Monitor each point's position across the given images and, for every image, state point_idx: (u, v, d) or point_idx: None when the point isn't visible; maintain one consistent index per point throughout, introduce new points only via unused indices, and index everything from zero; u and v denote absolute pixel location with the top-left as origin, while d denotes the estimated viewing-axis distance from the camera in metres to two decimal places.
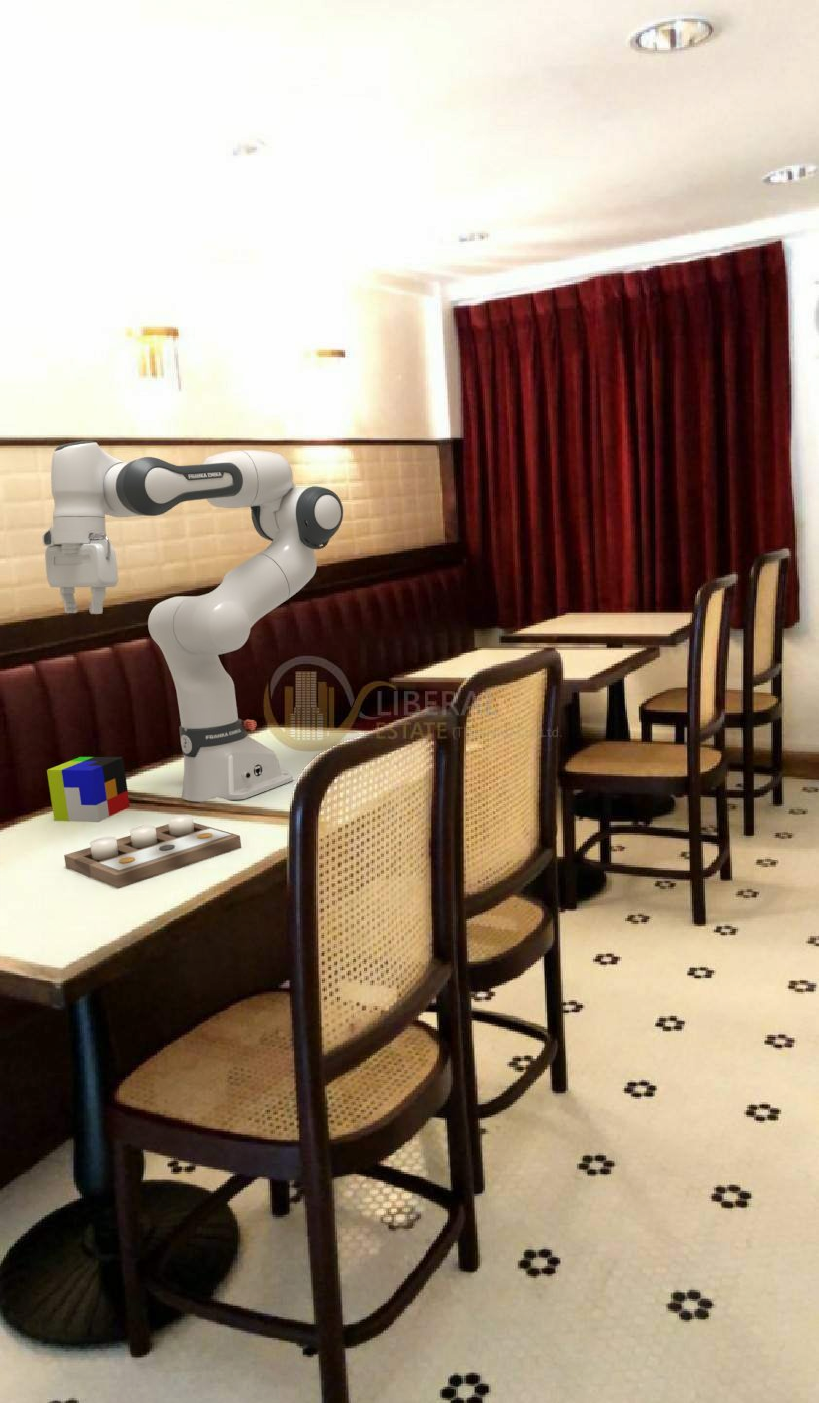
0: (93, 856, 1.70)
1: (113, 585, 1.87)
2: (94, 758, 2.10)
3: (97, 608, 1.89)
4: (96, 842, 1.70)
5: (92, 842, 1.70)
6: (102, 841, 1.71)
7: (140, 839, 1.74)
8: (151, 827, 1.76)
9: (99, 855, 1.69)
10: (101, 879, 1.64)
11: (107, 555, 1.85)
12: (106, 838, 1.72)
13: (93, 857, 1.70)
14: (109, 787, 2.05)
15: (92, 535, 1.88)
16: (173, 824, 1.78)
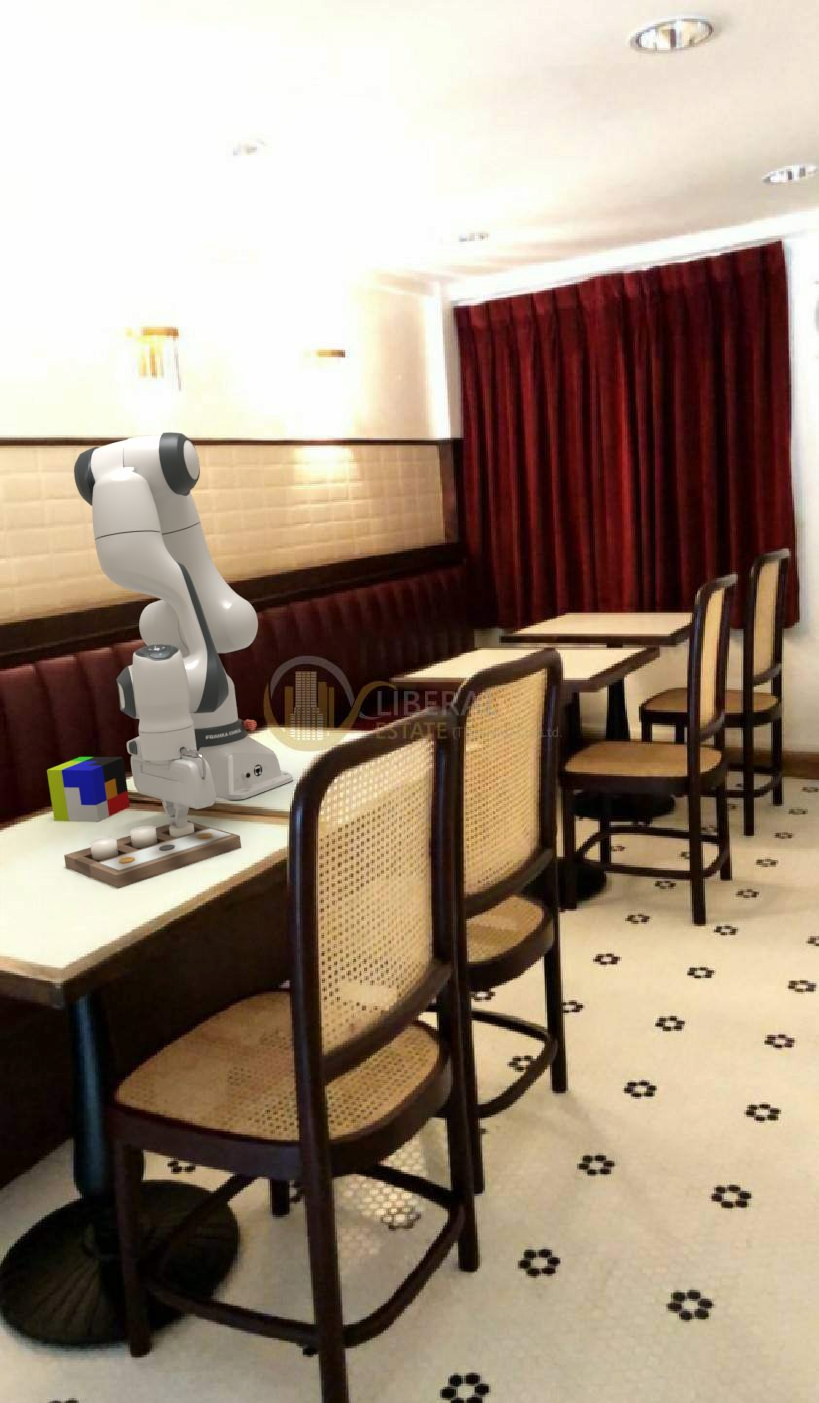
0: (93, 856, 1.70)
1: (211, 804, 1.73)
2: (94, 758, 2.10)
3: (181, 822, 1.79)
4: (96, 842, 1.70)
5: (92, 842, 1.70)
6: (102, 841, 1.71)
7: (140, 839, 1.74)
8: (151, 827, 1.76)
9: (99, 855, 1.69)
10: (101, 879, 1.64)
11: (203, 775, 1.71)
12: (106, 838, 1.72)
13: (93, 857, 1.70)
14: (109, 787, 2.05)
15: (184, 751, 1.73)
16: (175, 832, 1.79)
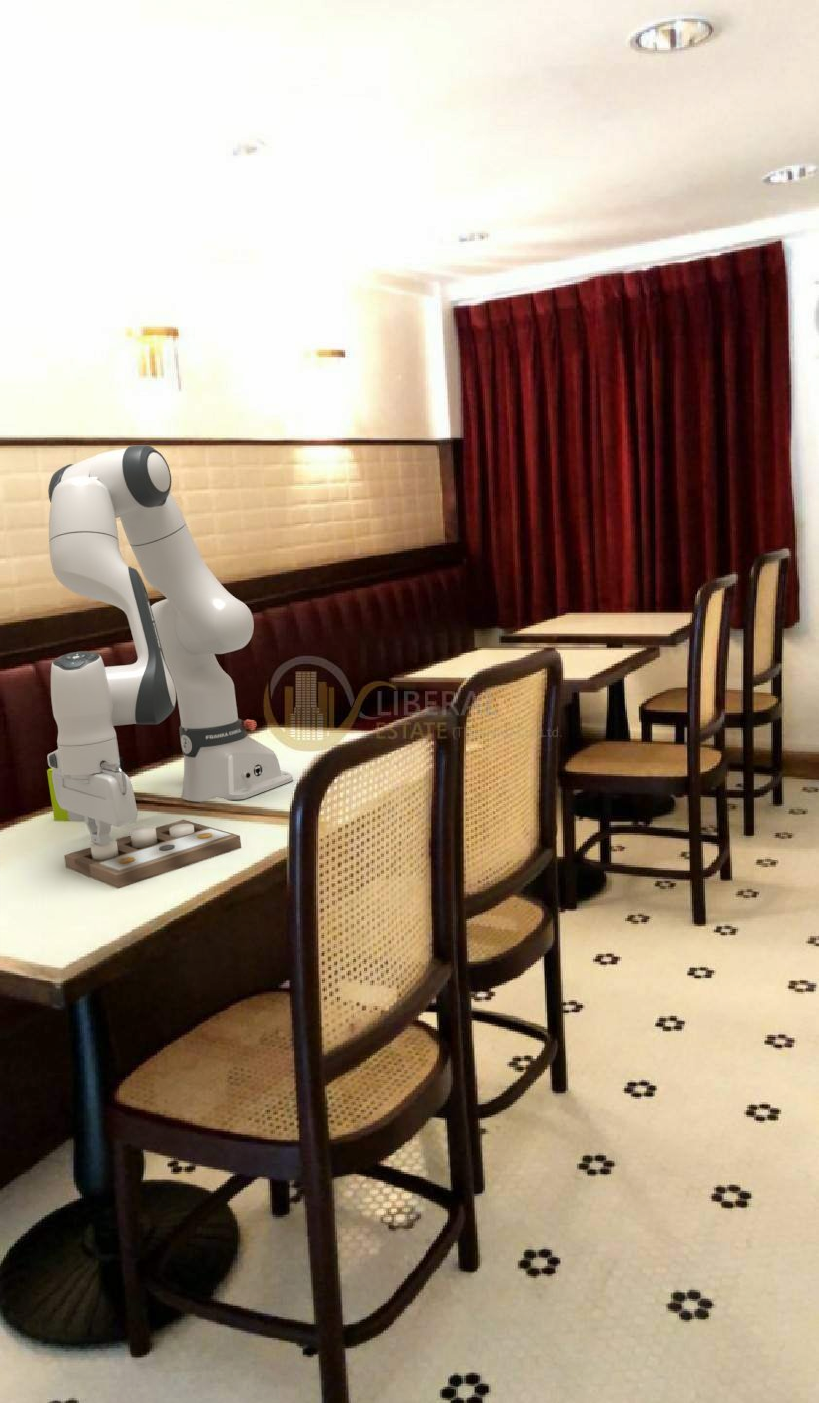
0: (93, 858, 1.70)
1: (132, 821, 1.64)
2: None
3: (104, 839, 1.69)
4: (96, 845, 1.70)
5: (92, 845, 1.71)
6: None
7: (140, 839, 1.74)
8: (151, 827, 1.76)
9: (100, 858, 1.69)
10: (101, 879, 1.64)
11: (123, 791, 1.61)
12: None
13: None
14: None
15: (104, 765, 1.64)
16: (175, 833, 1.79)
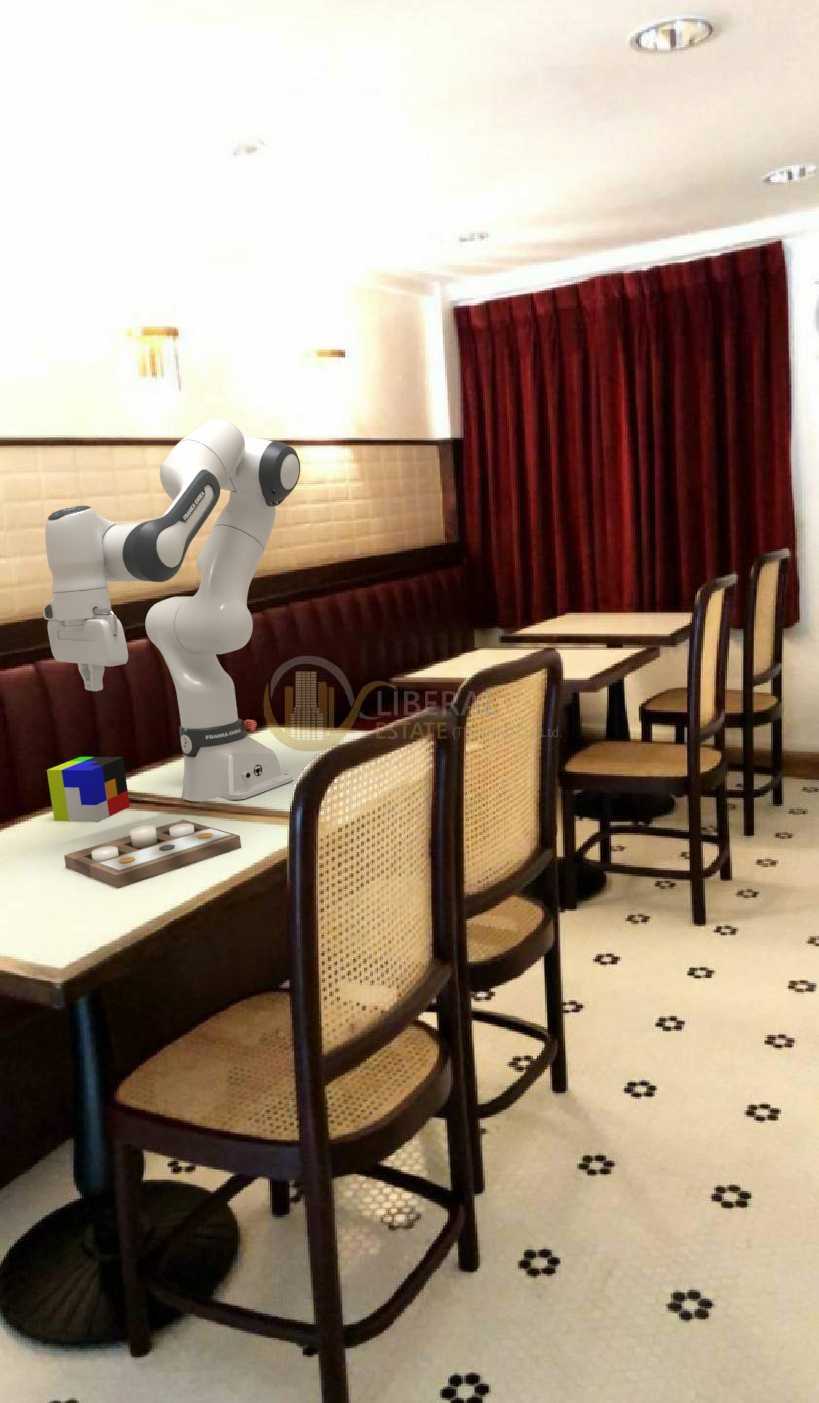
0: None
1: (124, 662, 1.74)
2: (94, 758, 2.10)
3: (97, 685, 1.80)
4: (97, 851, 1.71)
5: (93, 851, 1.71)
6: (104, 850, 1.71)
7: (140, 839, 1.74)
8: (151, 827, 1.76)
9: None
10: (101, 879, 1.64)
11: (114, 632, 1.72)
12: (108, 847, 1.72)
13: None
14: (109, 787, 2.05)
15: (96, 610, 1.74)
16: (175, 833, 1.79)
